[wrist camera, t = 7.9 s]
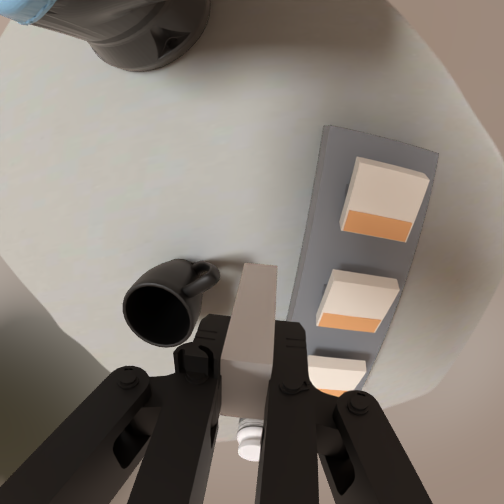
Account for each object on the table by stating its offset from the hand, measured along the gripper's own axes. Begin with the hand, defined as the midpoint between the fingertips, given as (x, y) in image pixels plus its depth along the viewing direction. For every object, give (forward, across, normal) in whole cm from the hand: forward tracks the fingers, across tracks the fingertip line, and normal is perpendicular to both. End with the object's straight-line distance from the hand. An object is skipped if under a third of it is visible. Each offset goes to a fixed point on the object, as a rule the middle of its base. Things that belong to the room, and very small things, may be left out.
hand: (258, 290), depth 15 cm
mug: (+23, -9, -11) cm, 27 cm away
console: (+23, +10, -10) cm, 26 cm away
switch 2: (+17, +10, -9) cm, 21 cm away
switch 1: (+17, +11, +2) cm, 20 cm away
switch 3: (+16, +9, -20) cm, 28 cm away
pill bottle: (+22, +1, -35) cm, 41 cm away
